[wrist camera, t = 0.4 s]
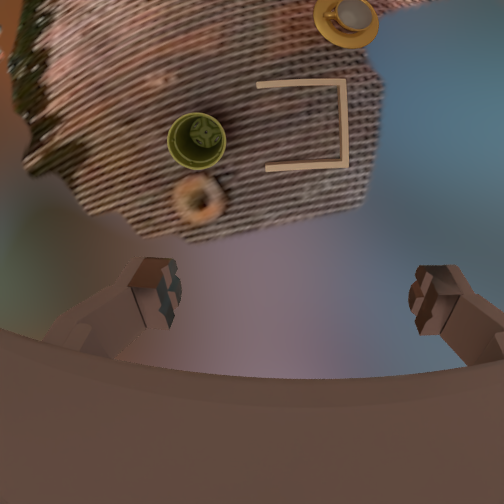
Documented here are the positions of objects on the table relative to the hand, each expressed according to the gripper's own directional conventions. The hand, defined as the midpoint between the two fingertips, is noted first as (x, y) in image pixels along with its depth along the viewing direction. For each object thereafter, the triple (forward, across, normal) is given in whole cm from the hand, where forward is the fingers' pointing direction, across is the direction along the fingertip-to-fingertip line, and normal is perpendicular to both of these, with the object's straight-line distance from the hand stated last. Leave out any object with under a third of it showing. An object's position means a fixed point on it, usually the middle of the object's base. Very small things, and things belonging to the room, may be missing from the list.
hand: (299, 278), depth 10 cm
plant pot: (+46, +14, +5) cm, 49 cm away
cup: (+49, -11, -17) cm, 53 cm away
